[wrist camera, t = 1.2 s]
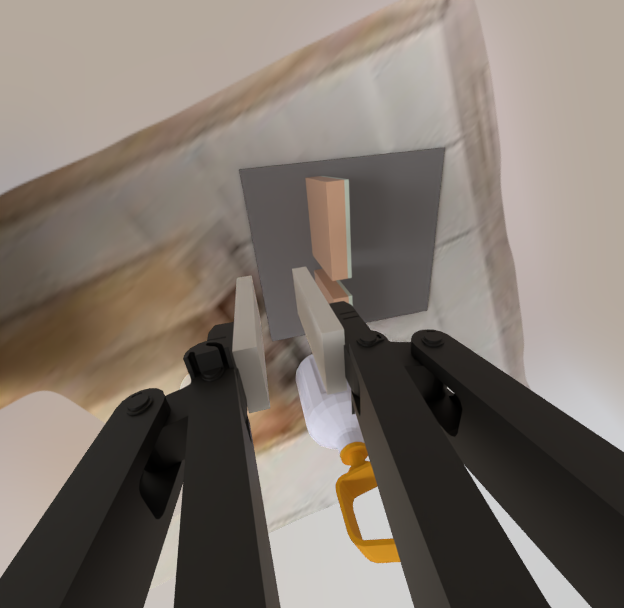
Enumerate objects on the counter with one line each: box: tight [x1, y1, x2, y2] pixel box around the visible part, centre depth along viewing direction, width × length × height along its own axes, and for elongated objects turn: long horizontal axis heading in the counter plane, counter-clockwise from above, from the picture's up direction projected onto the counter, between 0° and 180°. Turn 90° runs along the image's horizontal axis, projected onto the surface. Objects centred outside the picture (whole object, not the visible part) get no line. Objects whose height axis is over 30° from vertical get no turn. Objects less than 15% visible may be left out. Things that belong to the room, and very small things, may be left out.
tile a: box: [305, 176, 352, 281], centre depth 30 cm, size 2×9×9 cm, turn 5°
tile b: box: [314, 269, 353, 306], centre depth 35 cm, size 2×9×9 cm, turn 5°
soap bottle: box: [296, 354, 401, 563], centre depth 34 cm, size 9×9×25 cm
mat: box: [239, 148, 445, 341], centre depth 37 cm, size 24×22×1 cm
